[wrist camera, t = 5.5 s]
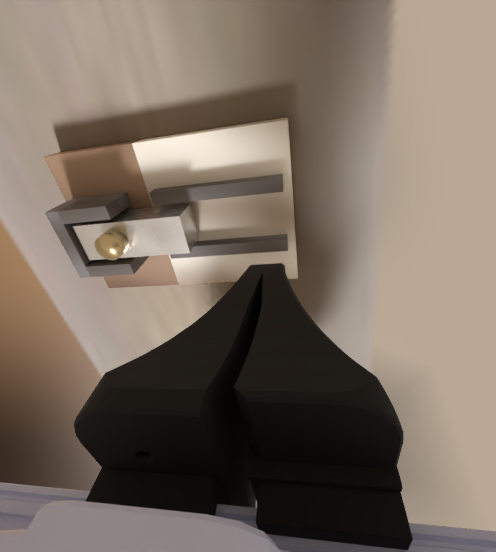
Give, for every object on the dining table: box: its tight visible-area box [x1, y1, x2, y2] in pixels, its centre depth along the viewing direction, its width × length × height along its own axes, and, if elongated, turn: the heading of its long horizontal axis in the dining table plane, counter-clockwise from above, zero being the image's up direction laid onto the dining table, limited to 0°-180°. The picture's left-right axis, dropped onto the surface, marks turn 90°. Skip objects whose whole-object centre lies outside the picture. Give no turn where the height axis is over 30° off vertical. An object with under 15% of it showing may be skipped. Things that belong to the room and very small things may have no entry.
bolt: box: [72, 203, 200, 260], centre depth 18 cm, size 2×7×3 cm, turn 99°
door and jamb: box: [44, 117, 298, 288], centre depth 19 cm, size 10×15×4 cm, turn 99°
